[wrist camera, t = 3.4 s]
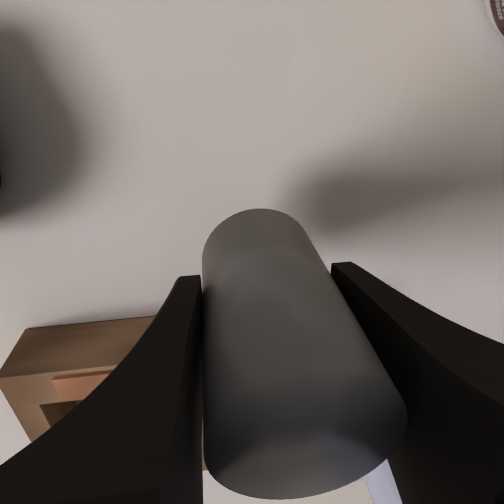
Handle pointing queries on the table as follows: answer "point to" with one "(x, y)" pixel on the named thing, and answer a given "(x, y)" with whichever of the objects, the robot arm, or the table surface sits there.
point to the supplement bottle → (495, 15)
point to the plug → (287, 367)
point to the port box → (64, 368)
